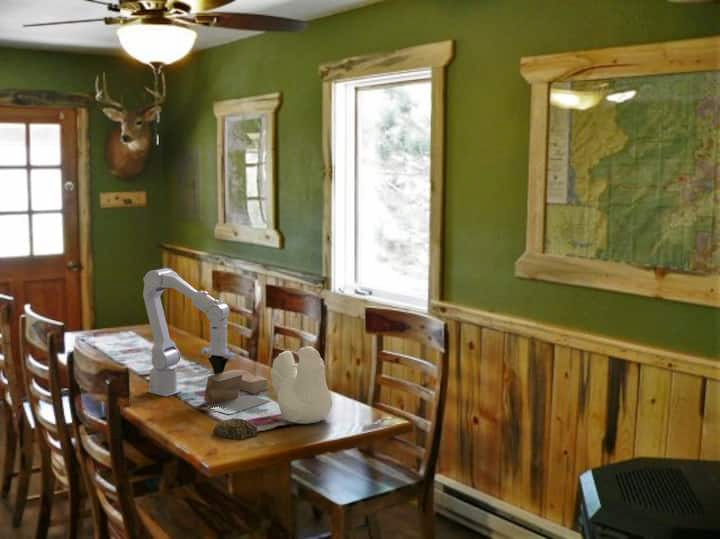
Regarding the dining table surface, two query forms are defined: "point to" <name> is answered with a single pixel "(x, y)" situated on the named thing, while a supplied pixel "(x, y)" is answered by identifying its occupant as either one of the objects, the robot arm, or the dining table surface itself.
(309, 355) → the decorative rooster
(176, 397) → the dining table surface
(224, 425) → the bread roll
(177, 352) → the robot arm
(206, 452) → the dining table surface
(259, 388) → the brick
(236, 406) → the spiral notebook
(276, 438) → the dining table surface
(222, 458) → the dining table surface
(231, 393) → the block
